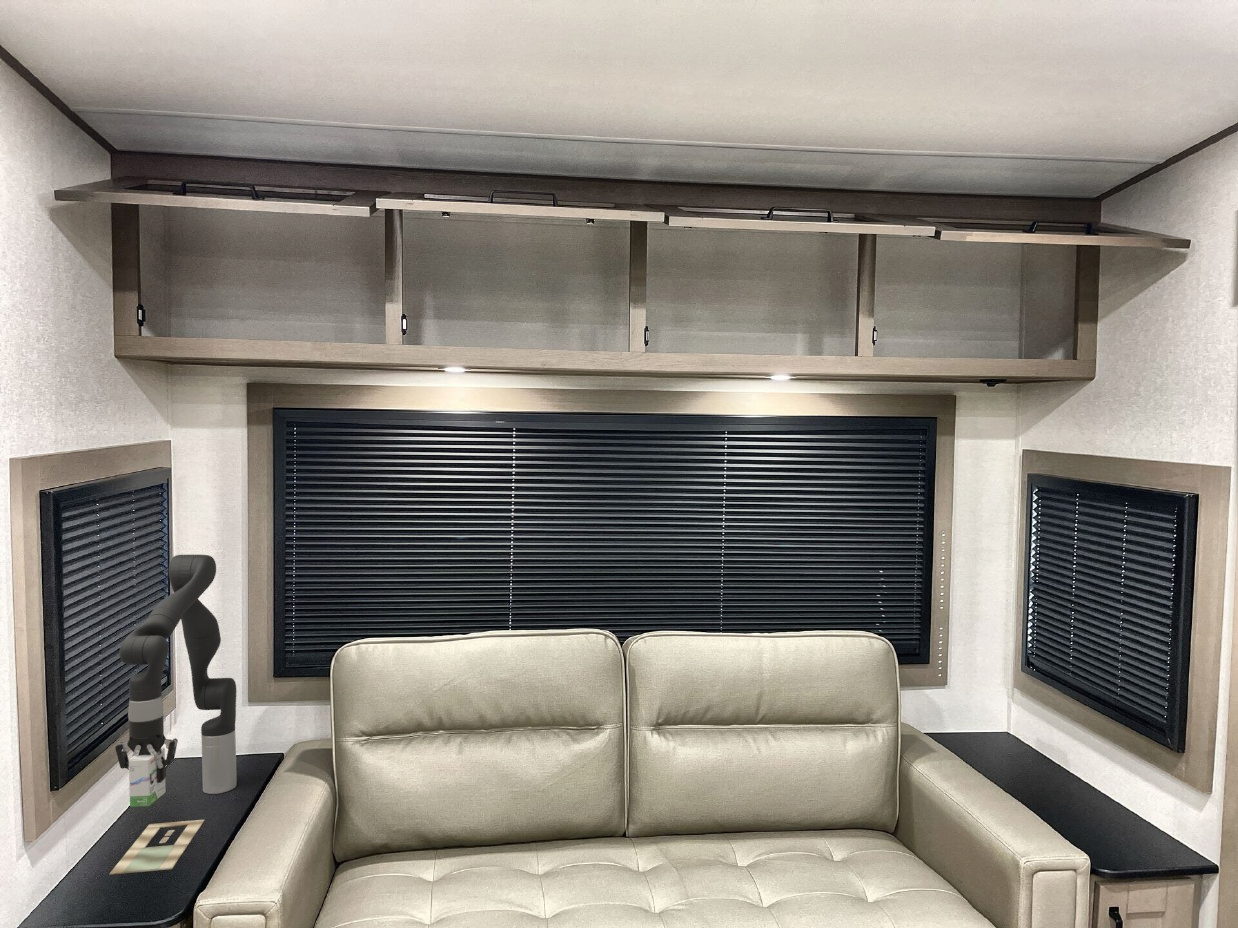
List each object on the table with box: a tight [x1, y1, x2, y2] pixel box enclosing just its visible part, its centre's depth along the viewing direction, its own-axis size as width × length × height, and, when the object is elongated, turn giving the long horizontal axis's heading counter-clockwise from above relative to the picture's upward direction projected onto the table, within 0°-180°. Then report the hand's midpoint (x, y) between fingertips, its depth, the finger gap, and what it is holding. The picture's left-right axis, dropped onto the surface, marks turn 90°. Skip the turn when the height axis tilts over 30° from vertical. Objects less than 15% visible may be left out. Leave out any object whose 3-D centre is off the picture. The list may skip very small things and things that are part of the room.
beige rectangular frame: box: [109, 819, 205, 875], centre depth 216 cm, size 26×14×1 cm, turn 10°
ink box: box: [128, 747, 167, 808], centre depth 209 cm, size 8×5×12 cm, turn 3°
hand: (147, 782), depth 209 cm, fingers closed on ink box, 5 cm apart
